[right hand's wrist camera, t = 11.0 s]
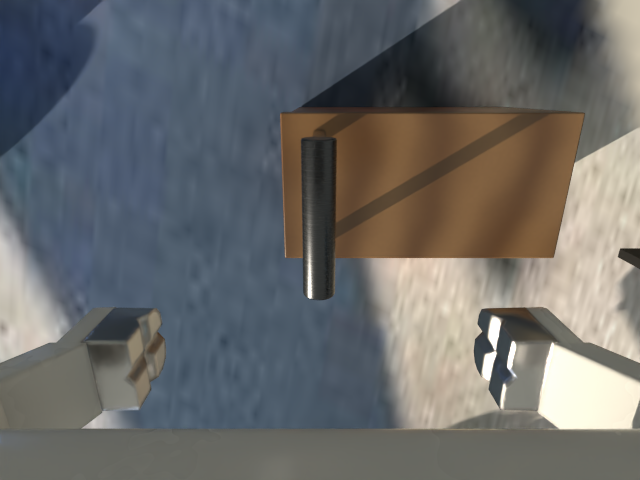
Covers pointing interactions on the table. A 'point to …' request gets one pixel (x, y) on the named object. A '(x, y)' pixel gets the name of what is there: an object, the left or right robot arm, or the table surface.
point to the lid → (423, 186)
